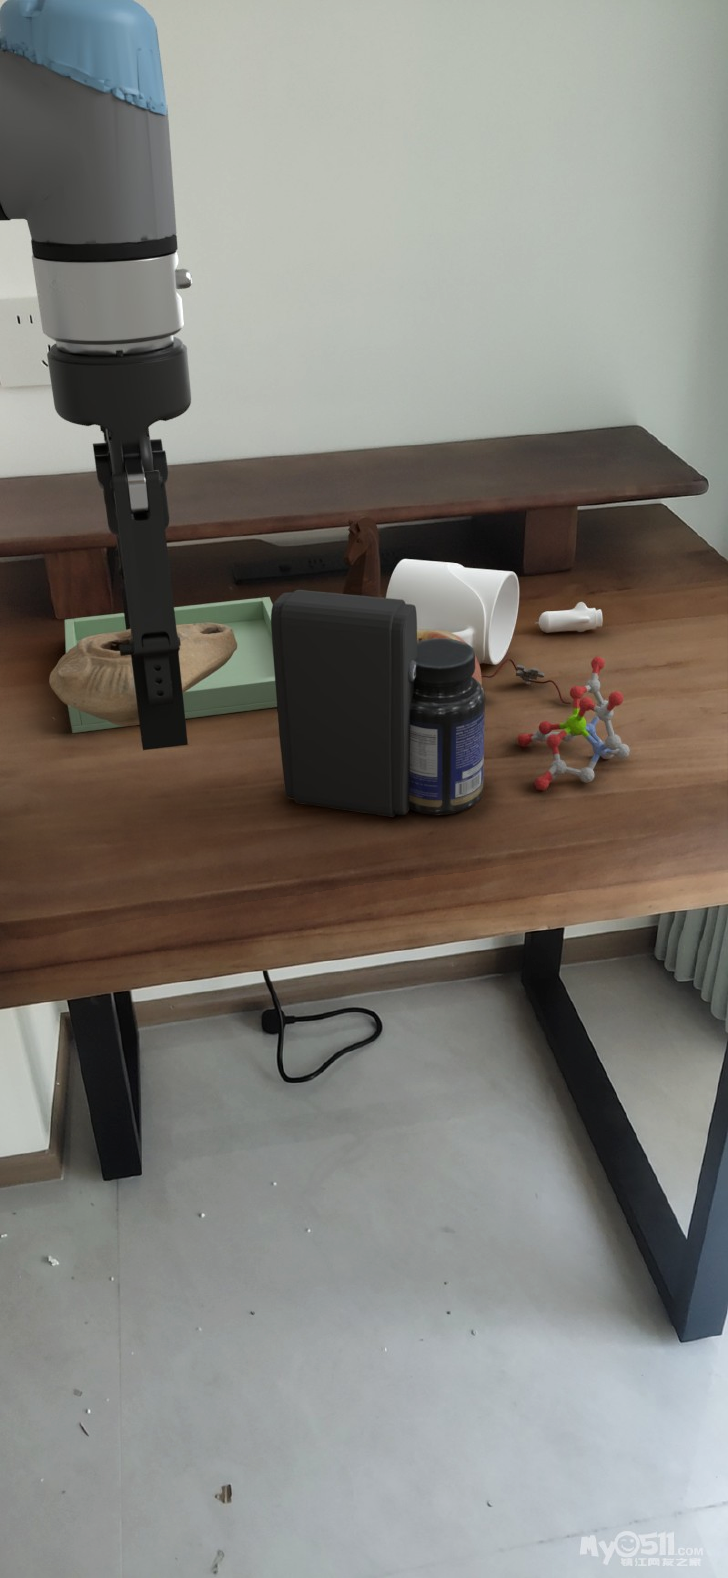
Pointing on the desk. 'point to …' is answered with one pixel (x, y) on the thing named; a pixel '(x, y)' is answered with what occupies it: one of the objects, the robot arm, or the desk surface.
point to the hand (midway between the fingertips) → (158, 708)
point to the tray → (223, 691)
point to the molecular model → (581, 730)
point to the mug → (461, 603)
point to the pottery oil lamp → (106, 677)
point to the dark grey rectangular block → (345, 699)
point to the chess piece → (363, 558)
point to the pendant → (528, 675)
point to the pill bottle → (446, 729)
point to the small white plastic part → (571, 619)
